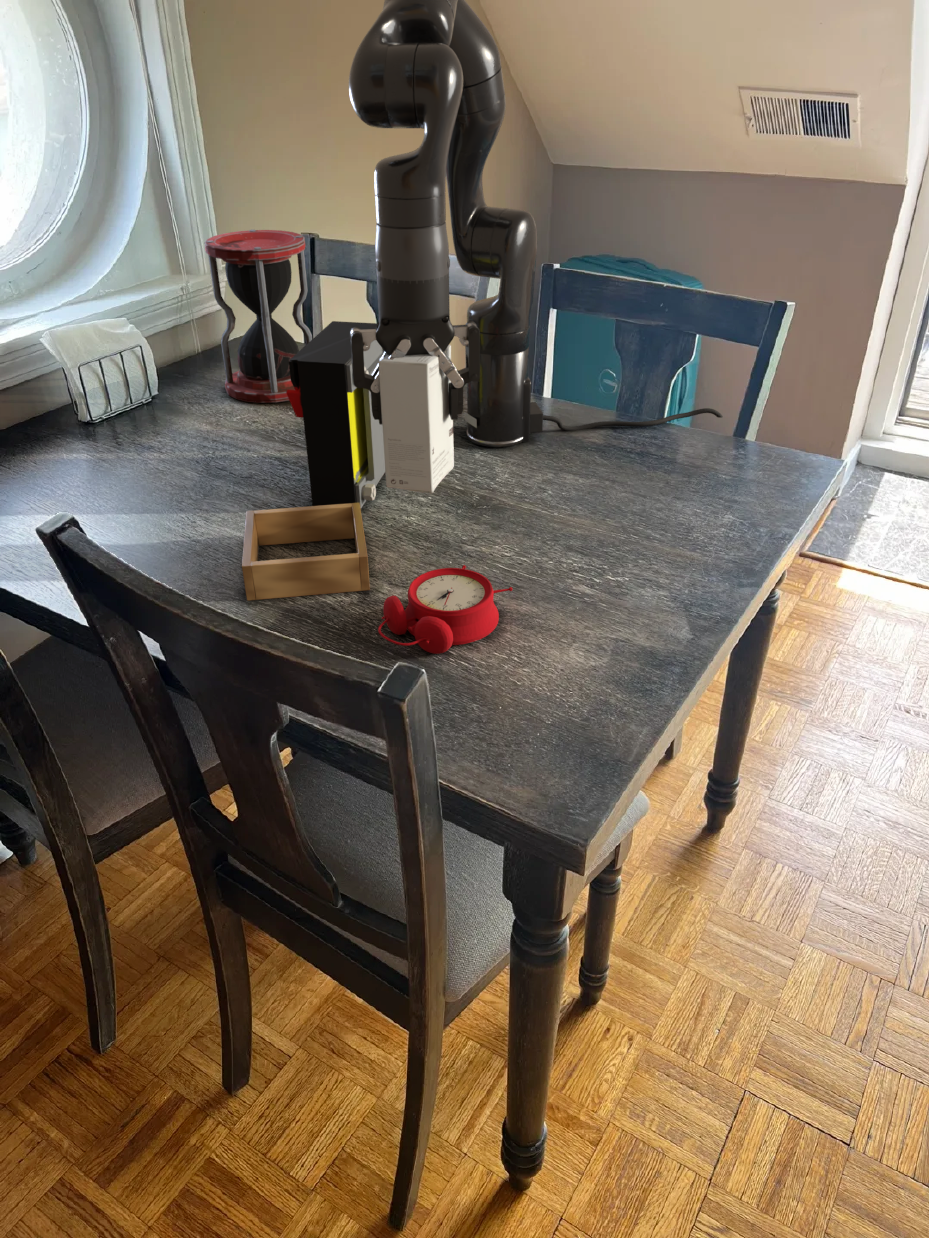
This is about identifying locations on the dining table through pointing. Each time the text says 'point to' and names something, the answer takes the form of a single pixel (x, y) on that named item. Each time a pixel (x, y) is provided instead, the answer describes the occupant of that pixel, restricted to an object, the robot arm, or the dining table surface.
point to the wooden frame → (306, 571)
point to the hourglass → (259, 309)
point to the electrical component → (338, 417)
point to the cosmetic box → (416, 422)
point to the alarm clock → (444, 609)
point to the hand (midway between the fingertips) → (417, 419)
